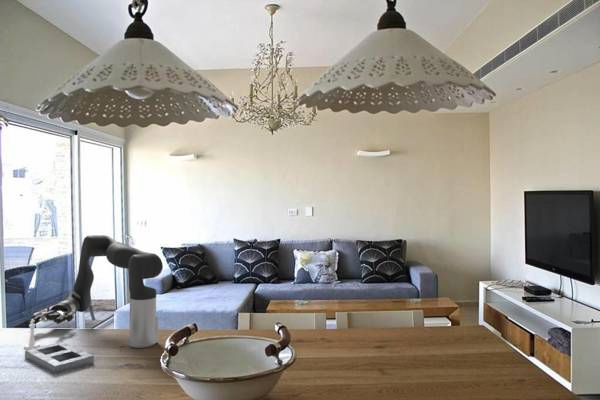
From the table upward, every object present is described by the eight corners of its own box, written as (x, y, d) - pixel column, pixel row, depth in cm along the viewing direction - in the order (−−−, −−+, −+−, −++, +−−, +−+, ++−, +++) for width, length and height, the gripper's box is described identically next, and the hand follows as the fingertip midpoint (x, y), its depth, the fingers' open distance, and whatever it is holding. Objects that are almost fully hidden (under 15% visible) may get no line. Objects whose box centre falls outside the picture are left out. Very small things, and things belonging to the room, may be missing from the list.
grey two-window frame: (62, 348, 157) (62, 341, 157) (93, 363, 143) (93, 355, 143) (24, 357, 147) (25, 350, 147) (54, 374, 134) (55, 366, 134)
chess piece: (43, 345, 160) (43, 317, 160) (33, 349, 155) (34, 321, 155) (30, 344, 161) (30, 317, 161) (20, 349, 156) (20, 320, 156)
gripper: (44, 302, 184) (26, 312, 168) (80, 301, 186) (65, 311, 170) (44, 320, 184) (25, 331, 168) (80, 319, 186) (65, 331, 170)
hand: (45, 321), depth 169 cm, fingers open, 8 cm apart
